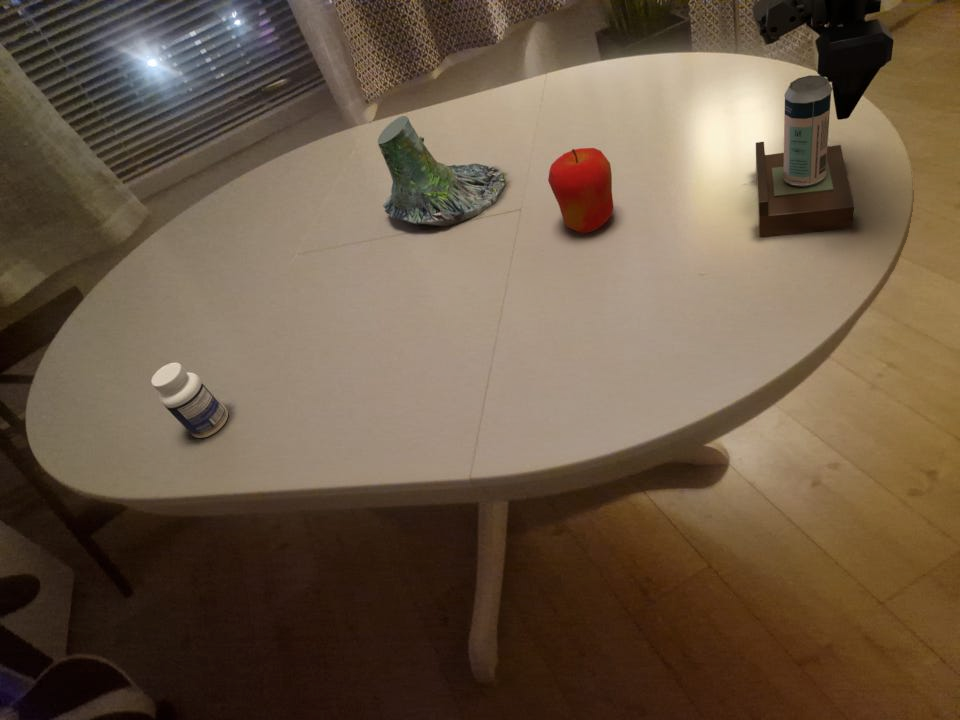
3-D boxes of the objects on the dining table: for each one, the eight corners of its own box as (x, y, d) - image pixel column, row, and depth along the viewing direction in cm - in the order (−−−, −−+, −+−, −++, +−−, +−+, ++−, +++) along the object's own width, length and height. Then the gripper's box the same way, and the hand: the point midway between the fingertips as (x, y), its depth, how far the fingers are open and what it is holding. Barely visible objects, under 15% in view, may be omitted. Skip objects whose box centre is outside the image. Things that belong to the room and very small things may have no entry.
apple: (618, 236, 88) (604, 159, 80) (558, 245, 91) (538, 170, 83) (621, 201, 94) (607, 126, 86) (564, 210, 97) (546, 138, 89)
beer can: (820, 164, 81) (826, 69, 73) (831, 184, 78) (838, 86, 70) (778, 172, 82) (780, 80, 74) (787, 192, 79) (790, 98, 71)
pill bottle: (189, 423, 88) (143, 374, 81) (224, 401, 89) (182, 351, 82) (195, 446, 84) (148, 397, 77) (233, 423, 85) (189, 372, 78)
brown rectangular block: (839, 165, 85) (841, 130, 82) (852, 228, 76) (856, 191, 72) (756, 175, 89) (755, 142, 85) (759, 237, 80) (759, 202, 76)
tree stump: (519, 206, 102) (459, 115, 90) (415, 271, 107) (346, 192, 95) (496, 154, 115) (441, 68, 103) (405, 213, 120) (342, 138, 108)
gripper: (754, -62, 71) (756, 77, 82) (761, -2, 59) (762, 152, 69) (870, -93, 67) (857, 58, 77) (904, -35, 55) (883, 135, 65)
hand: (837, 99), depth 72 cm, fingers open, 9 cm apart
